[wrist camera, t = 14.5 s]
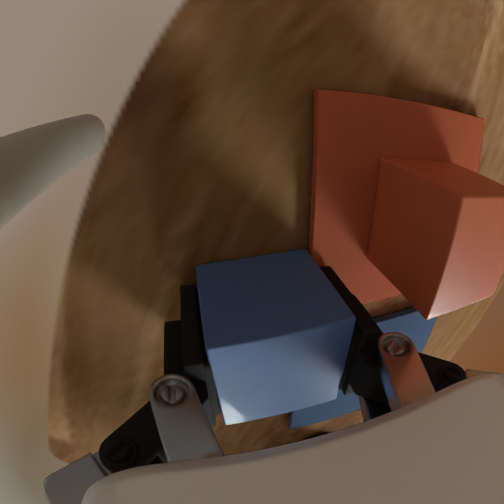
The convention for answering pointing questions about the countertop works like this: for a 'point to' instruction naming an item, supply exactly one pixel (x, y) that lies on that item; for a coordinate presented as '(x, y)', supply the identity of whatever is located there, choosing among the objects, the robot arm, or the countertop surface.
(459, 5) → the countertop surface
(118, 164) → the countertop surface
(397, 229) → the terracotta block
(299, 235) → the countertop surface
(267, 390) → the slate block
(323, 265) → the terracotta mat
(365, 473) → the robot arm
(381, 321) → the slate mat
